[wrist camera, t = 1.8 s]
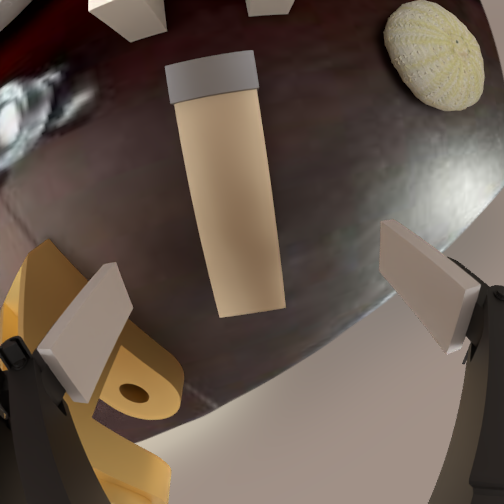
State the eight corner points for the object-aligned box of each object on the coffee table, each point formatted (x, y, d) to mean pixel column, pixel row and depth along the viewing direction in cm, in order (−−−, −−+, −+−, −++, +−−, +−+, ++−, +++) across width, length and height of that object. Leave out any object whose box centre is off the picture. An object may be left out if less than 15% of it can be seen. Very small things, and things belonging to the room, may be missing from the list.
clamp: (202, 376, 27) (192, 524, 12) (150, 405, 29) (127, 523, 14) (49, 238, 20) (-75, 350, 6) (17, 293, 22) (-67, 393, 8)
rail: (221, 272, 23) (217, 321, 17) (186, 86, 17) (164, 66, 11) (275, 264, 22) (288, 311, 17) (247, 75, 17) (252, 50, 11)
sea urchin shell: (414, 127, 16) (439, 28, 9) (362, 69, 19) (364, -13, 12) (490, 119, 15) (519, 47, 8) (438, 66, 19) (450, 0, 12)
